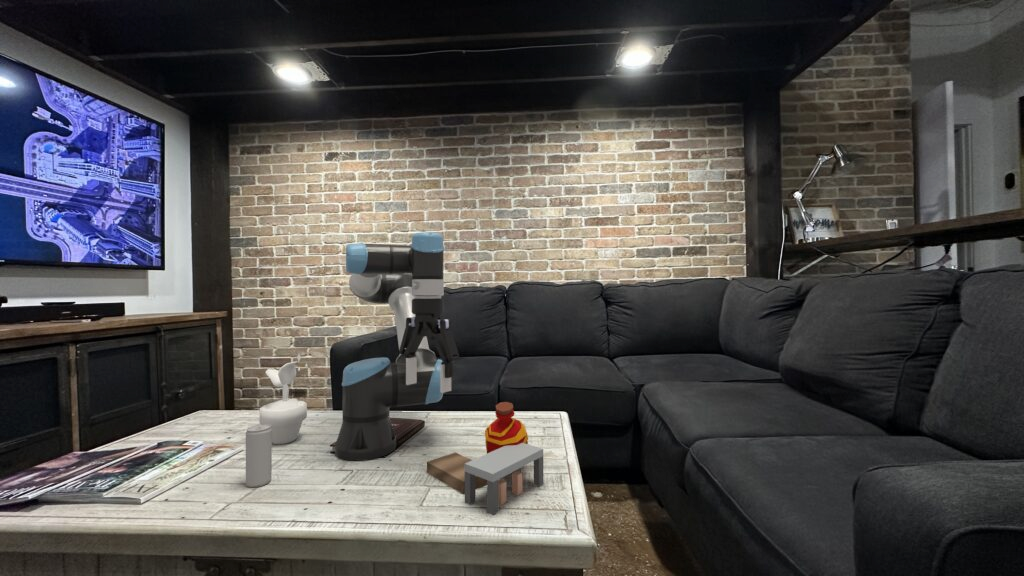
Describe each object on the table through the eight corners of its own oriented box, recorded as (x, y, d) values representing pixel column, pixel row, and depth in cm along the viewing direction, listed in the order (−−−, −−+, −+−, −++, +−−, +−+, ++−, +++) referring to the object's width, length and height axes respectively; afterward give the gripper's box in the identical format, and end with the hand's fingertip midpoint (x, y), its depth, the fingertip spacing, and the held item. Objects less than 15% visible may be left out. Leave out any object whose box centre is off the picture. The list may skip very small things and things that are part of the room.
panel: (426, 475, 95) (426, 461, 95) (455, 464, 100) (455, 452, 100) (463, 496, 84) (463, 481, 84) (493, 483, 90) (493, 470, 90)
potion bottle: (525, 482, 91) (522, 421, 87) (480, 476, 93) (475, 416, 90) (534, 452, 101) (531, 396, 97) (493, 447, 103) (489, 393, 100)
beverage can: (244, 490, 87) (244, 432, 87) (246, 481, 91) (246, 426, 91) (271, 485, 89) (271, 428, 89) (272, 476, 93) (272, 422, 93)
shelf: (464, 502, 81) (464, 463, 81) (516, 474, 93) (516, 440, 94) (493, 515, 76) (492, 474, 76) (543, 484, 89) (543, 448, 89)
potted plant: (315, 438, 118) (315, 349, 118) (273, 451, 108) (273, 355, 108) (290, 430, 124) (290, 347, 125) (249, 442, 115) (249, 351, 115)
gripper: (384, 297, 104) (384, 383, 104) (450, 298, 89) (450, 398, 89) (409, 296, 110) (409, 378, 110) (475, 297, 95) (475, 392, 95)
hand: (427, 387), depth 100 cm, fingers open, 12 cm apart
